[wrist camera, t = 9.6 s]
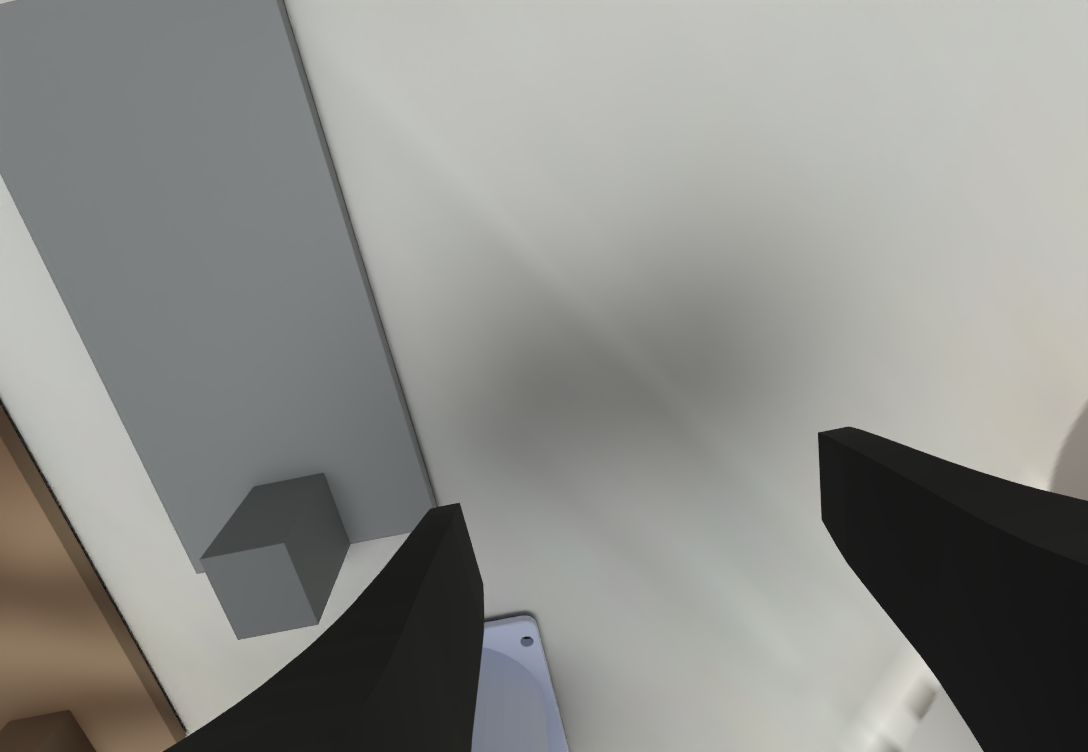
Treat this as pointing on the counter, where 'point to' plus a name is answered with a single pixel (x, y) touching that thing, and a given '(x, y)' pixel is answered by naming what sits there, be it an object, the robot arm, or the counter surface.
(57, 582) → the walnut strip
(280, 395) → the charcoal strip
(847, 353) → the counter surface
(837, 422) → the counter surface
